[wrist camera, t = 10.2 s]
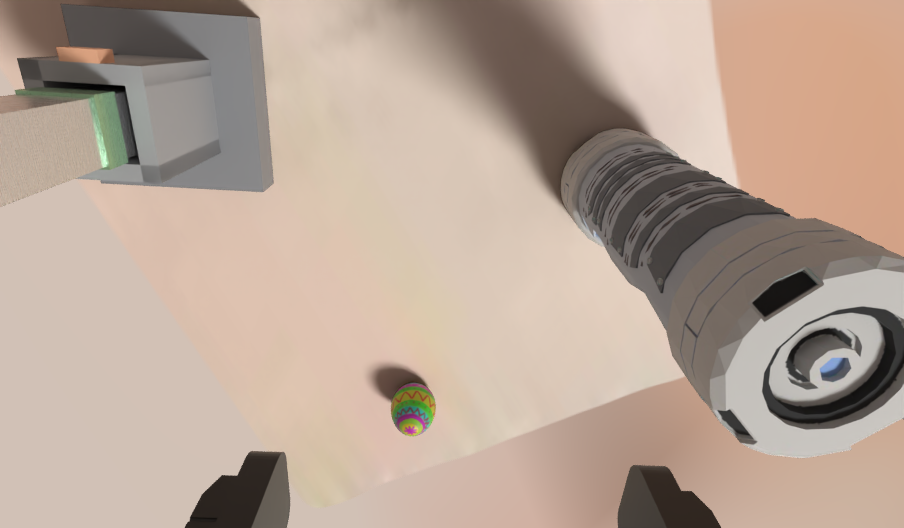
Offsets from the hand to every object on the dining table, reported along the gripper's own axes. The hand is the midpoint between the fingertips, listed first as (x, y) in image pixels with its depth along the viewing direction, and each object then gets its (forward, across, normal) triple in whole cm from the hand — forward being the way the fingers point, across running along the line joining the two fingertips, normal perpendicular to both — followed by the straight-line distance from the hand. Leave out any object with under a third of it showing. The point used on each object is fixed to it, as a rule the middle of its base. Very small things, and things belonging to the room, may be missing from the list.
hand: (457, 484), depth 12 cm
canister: (+38, -16, +2) cm, 42 cm away
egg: (+38, +2, +28) cm, 48 cm away
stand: (+38, +23, -3) cm, 45 cm away
